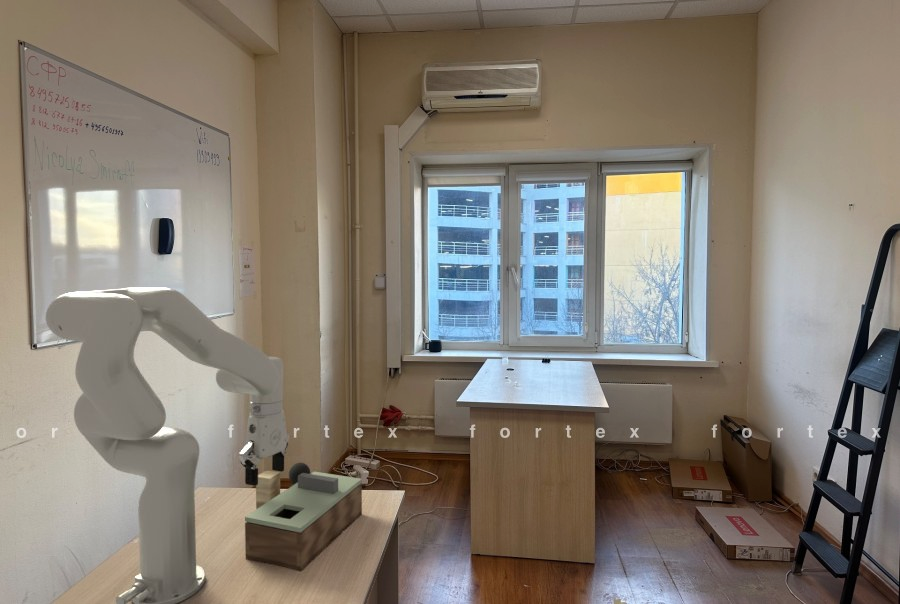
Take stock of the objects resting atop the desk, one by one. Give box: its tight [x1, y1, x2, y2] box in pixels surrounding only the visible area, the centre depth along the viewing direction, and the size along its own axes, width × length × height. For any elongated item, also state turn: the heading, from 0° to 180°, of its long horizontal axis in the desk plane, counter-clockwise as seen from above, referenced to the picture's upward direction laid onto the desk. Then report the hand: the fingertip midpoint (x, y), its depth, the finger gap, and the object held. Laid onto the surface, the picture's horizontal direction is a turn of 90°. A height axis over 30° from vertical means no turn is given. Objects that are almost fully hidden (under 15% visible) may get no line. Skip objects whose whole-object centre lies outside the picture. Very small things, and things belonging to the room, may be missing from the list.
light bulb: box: [288, 462, 311, 486], centre depth 136 cm, size 6×6×10 cm
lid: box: [244, 471, 363, 533], centre depth 117 cm, size 26×14×4 cm, turn 162°
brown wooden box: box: [244, 483, 363, 572], centre depth 118 cm, size 26×14×8 cm, turn 162°
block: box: [255, 470, 281, 510], centre depth 123 cm, size 4×4×12 cm
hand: (265, 477), depth 122 cm, fingers open, 9 cm apart
